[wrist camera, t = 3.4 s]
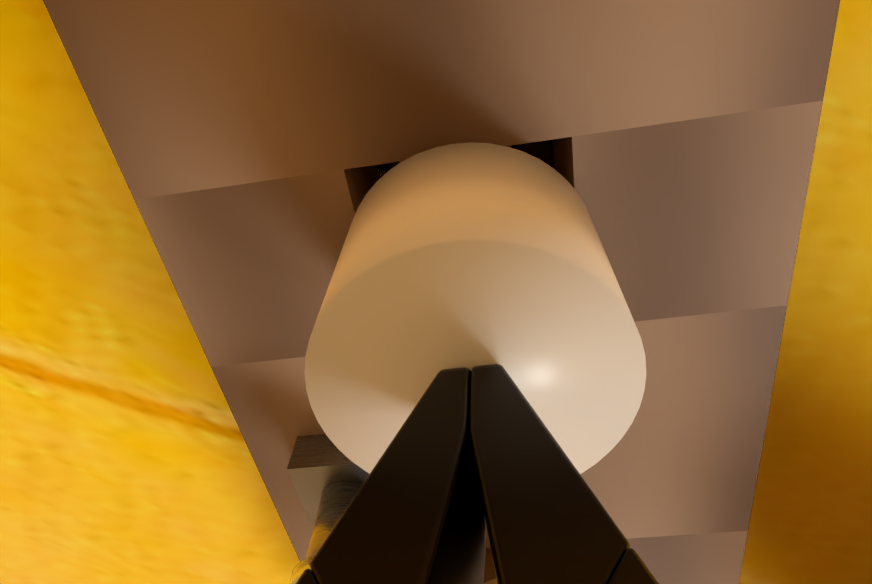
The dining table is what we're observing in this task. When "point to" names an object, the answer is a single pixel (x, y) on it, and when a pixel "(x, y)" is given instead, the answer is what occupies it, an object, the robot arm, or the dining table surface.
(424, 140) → the mount
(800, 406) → the dining table surface
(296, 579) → the potentiometer
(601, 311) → the knob
